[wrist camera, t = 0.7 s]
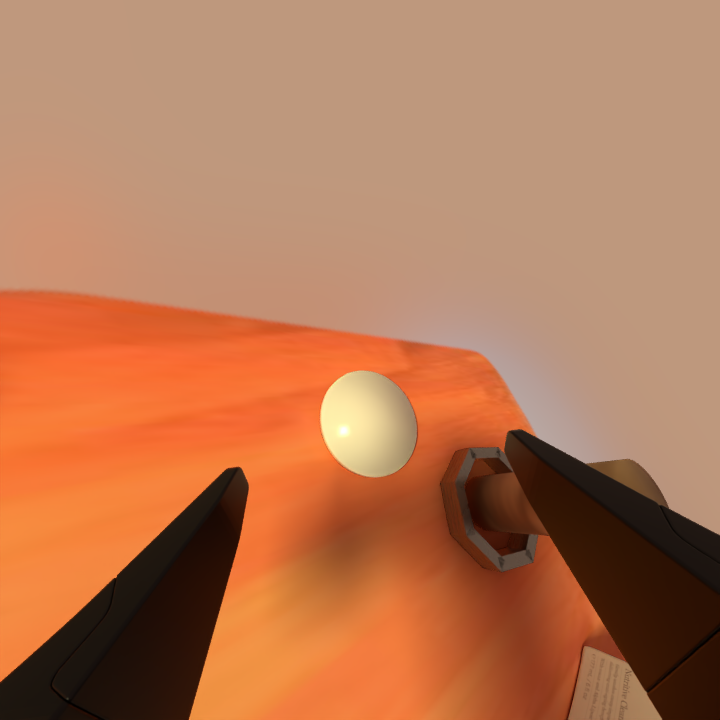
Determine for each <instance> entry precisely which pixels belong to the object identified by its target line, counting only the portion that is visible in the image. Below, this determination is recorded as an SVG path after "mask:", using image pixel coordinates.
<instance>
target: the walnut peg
mask: <svg viewBox="0 0 720 720" xmlns="http://www.w3.org/2000/svg"><path fill="white" fill-rule="evenodd" d="M587 465H589V466H591V467H592V468H594V469H596V470H598V471H600V472H602V473H604V474H605V475H607V476H609V477H611V478H613V479H615V480H617V481H618V482H620V483H622V484H624V485H626V486H628V487H630V488H631V489H633V490H635V491H637V492H639V493H641V494H643V495H644V496H646V497H648V498H650V499H652V500H654V501H656V502H657V503H658V504H659V505H663V506H665V507H667V508H669V507H668V505H667V502H666V500H665V499H664V496H663V494H662V493H661V491H660V489H659V488H658V486H657V485H656V483H655V482H654V480H653V479H652V478H651V476H650V475H649V474H648V473H647V472H646V471H645V469H643V468H642V467H641V466H640V465H639V464H638V463H636V462H635V461H633V460H630V459H623V460H614V461H605V462H597V463H589V464H587ZM465 492H466V496H467V501H468V505H469V509H470V513H471V518H472V521H473V522H474V523H475V524H476V525H477V526H478V527H479V528H481V529H483V530H488V531H499V532H511V533H522V534H534V535H545V536H549V534H548V533H547V531H546V529H545V528H544V526H543V525H542V523H541V521H540V520H539V518H538V516H537V515H536V513H535V512H534V510H533V508H532V507H531V505H530V503H529V501H528V500H527V498H526V496H525V494H524V492H523V490H522V488H521V486H520V484H519V482H518V480H517V478H516V476H515V474H514V472H512V473H503V474H495V475H486V476H478V477H473V478H471V479H470V480H469V481H468V483H467V485H466V487H465Z"/></svg>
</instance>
